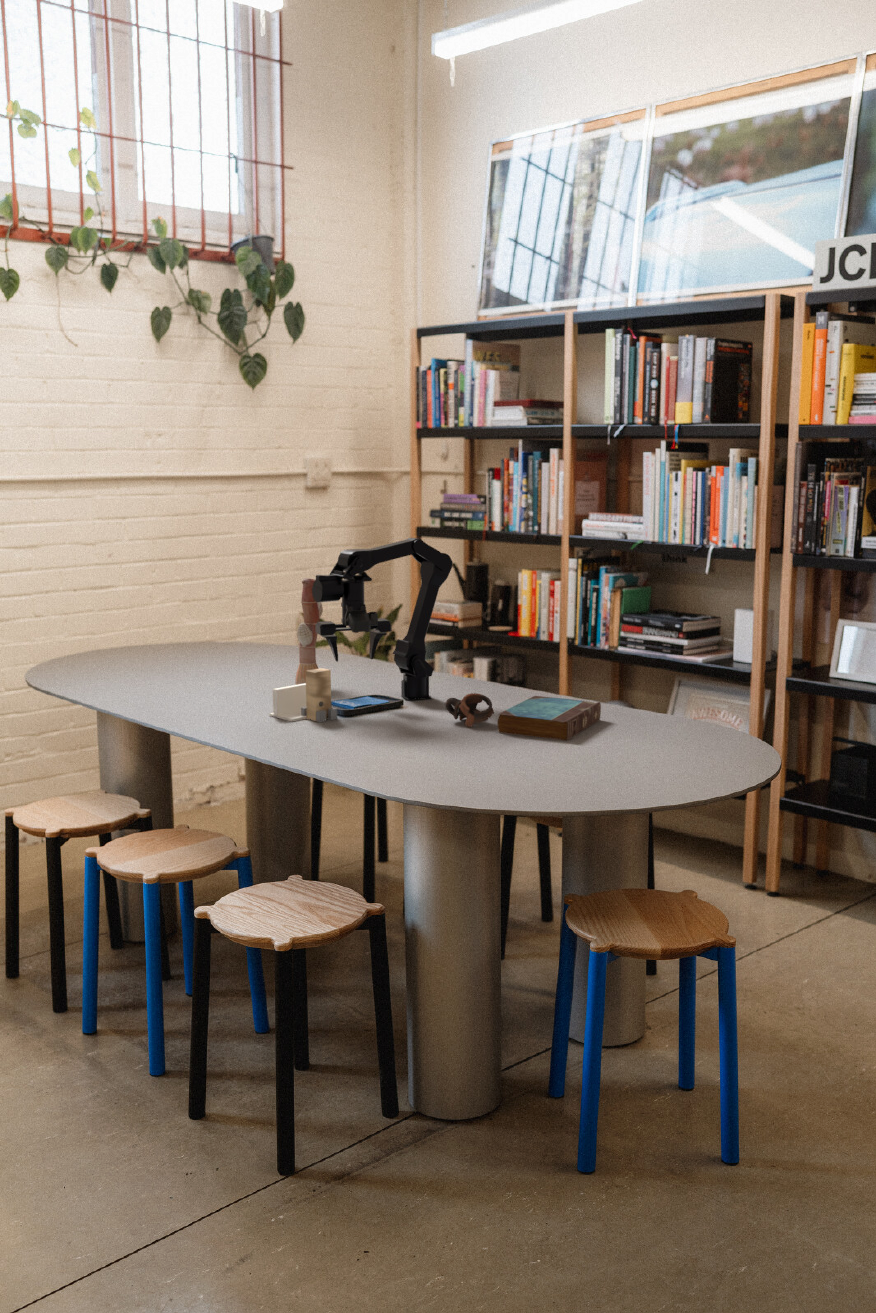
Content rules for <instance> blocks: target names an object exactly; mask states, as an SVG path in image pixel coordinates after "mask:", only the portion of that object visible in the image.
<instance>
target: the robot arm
mask: <svg viewBox="0 0 876 1313" xmlns="http://www.w3.org/2000/svg"><path fill="white" fill-rule="evenodd" d="M408 556H411V557H412V558H413V559H414V560H415V561H416V562H417V563H419V564H420V568H419V573H420V574H419V575H420V579H421V584H420V588H419V592H418V594H417V597H416V602H415V606H414V609H413V612H412V616H411V620H410V623H409V626H408V630H407V632H406V635H405V636H404V638H403V639H399V638H398V639H397V640H396V643H395V648H394V650H393V652H392V654H393V661H394V663H395V665H396V666H397V667H398V669H399V672H400V674H402V677H403V678H402V679H401V681H400V682H401V687H400V688H401V689H400V692H401V695H400V696H401V697H402V698H404V699H406V700H408V701H416V700H418V701H419V700H431V699H432V696H431V695H430V677H432V676H433V673H434V667H433V666H432V665H431V664H430V663H428V661H427V660H426V659H427V658H426V656H427V646H426V642H425V640H426V637H427V633H428V628H429V626H430V622H431V619H432V614H433V611H434V608H435V605H436V601H437V597H438V594H439V590H440V588H441V587H442V585H443V584H444V583H445V581H447V579H448V577H449V575H450V573H451V572H452V570H453V569H452V568H453V560H452V558H451V556H450V555H449V554H447V553H445V552H441V551H440V550H438V549H436V548H434V547H433V546H431V545H429V544H428V543H426V542H425V541H424V540H423V539H421V538H418V537H408V538H406V539H404V540H403V539H402V540H399V541H396V542H391V543H388V544H383V545H380V546H375V547H372V548H350V549H349V548H348V549H344V550H342V551H340V553H339V555H338V558H337V562H336V563H335V564H334V566H333V568H332V569H331V571H330V573H329V574H325V575H322V574H316V575H315V579H314V580H315V581H314V583H313V587H312V595H313V598H314V600H315V601H316V602H321V603H328V602H329V603H330V602H339V601H340V600H341V603H340V607H341V619H340V620H341V623H335V622H334V621H331V620H330V621H328V620H327V621H320V622H317V624H316V626H315V628H316V633H317V634H318V635H319V636H321V637H322V638H324V639H326V641H327V643H328V645H329V647H330V651H331V652H332V655H333V658H334V660H335V661H334V662H339V653H338V642H337V641H338V635H336V633H337V632H348V631H349V632H350V631H351V632H352V633H354V634H355V633H356V634H357V633H362V632H363V633H364V632H365V633H369V659H370V660H373V659H374V658H375V657H374V656H375V653H376V650H377V648H378V645H379V643H380V640H381V639H382V637H383V636H387V635H388V633H389V632H392V631H393V630H392V629H393V628H392V622H391V621H390V620H388V619H386V618H379V617H378V615H379V614H378V613H377V611H370V612H367V606H366V604H365V582H372V580H373V578H372V577H371V576H370V575H368V574H367V571H369V570H371V569H372V568H374V567H375V566H377V565H378V564H381V563H385V562H388V561H393V560H397V559H400V558H403V557H408Z"/></svg>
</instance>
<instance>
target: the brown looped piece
mask: <svg viewBox="0 0 876 1313" xmlns="http://www.w3.org/2000/svg"><path fill="white" fill-rule="evenodd" d="M482 702H485V704H486V705H487V706H488V707H487V708H486V709H484V710H480V709H478V708H477V706H478V704H480V703H482ZM444 706H445V708H446V710H447V712H448V713H449V714H450V715H451V716H453V719H454V720H457V719H459V721H462V720H463V719H465V722H464V725H465V726H466V727H468V728H472V727H473V726H474V725H477V724H481V723H482V722H485V721H488V720H489V719H490V718H491V717H492V716H493V715H494V714H495V711H494V708H493V702H492V700H491V698H489V697H488V696H486V695H484V694H481V693H476V692H475V693H467V694H465V695H464V697H463V698H462V699H458V698H456V697H450V698H447V700H446V702H445V703H444Z"/></svg>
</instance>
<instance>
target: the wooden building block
mask: <svg viewBox="0 0 876 1313" xmlns="http://www.w3.org/2000/svg"><path fill="white" fill-rule="evenodd" d="M318 668H319V669H313V670H307V671H306V709H307V720H310V719H311V721H314V722H316V711H321V710H324V711H326V720H329V719H328V709H331V708H332V677H331V676H332V674H331V671H332V670H331V669H328V668H323V667H318Z"/></svg>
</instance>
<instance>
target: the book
mask: <svg viewBox="0 0 876 1313" xmlns="http://www.w3.org/2000/svg"><path fill="white" fill-rule="evenodd" d="M601 704H602V703H601V702H600V701H597V702H594V701H590V700H589V701H587V700H582V699H581V700H580V699H579V700H578V699H570V698H564V697H563V698H561V697H550V696H541V695H533V696H531V697H529V698H528V699H525V700H523V701H521V702H519V703H517V704H515V705H513V706H511V707H508V708H507V709H505V710H503V711H502V712H499V713H497V715H498V720H497V729H498V732H499V733H501V734H509V735H516V736H517V735H518V736H525V737H527V736H528V737H534V738H535V737H536V738H544V739H552V740H553V739H554V740H561V741H566V742H568V741H569V740H570V739H572V738H573V737H575V736H577V735H578V734H580V733H582V732H583V731H585V730H586V729H589V727H591V726H592V725H594V724H596V723H597V722H600V721H601V712H602V710H601V709H602V705H601Z"/></svg>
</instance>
